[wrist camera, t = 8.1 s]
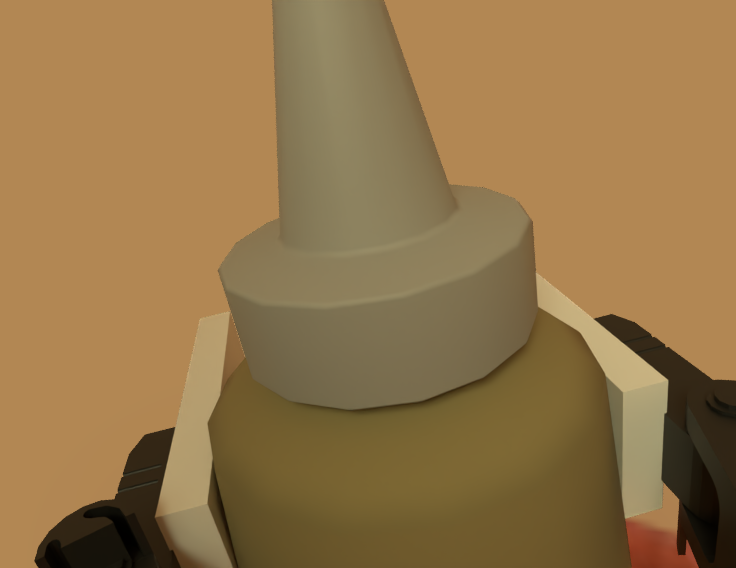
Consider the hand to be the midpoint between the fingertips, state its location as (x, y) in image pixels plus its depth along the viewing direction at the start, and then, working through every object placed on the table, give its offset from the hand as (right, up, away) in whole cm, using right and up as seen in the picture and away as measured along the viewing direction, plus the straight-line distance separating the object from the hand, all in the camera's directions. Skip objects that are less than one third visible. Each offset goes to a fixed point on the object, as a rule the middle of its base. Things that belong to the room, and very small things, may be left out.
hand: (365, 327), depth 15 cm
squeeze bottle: (+3, -11, 0) cm, 11 cm away
